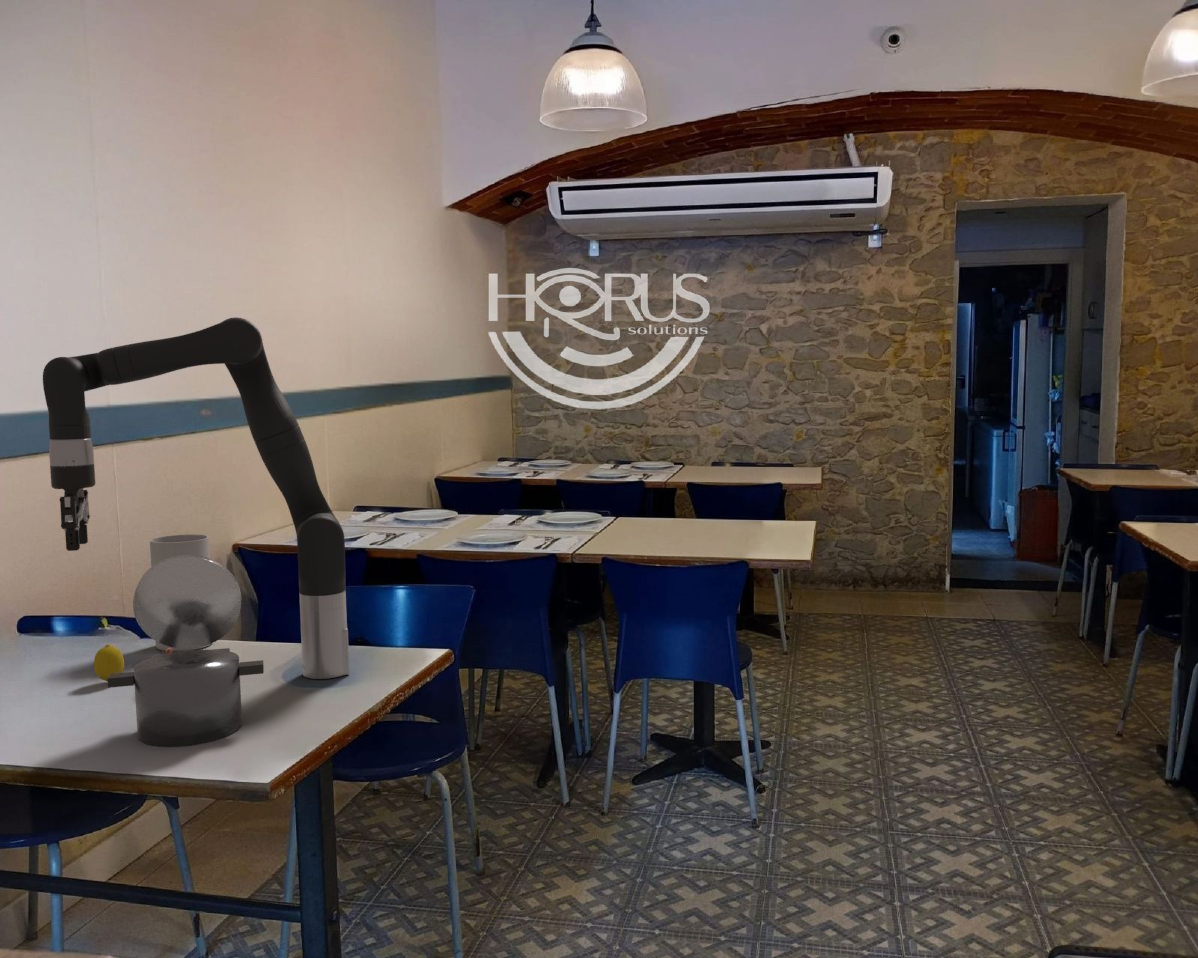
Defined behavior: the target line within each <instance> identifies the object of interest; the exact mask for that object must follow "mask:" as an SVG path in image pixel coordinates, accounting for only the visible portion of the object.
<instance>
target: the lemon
mask: <svg viewBox="0 0 1198 958" xmlns="http://www.w3.org/2000/svg"><path fill="white" fill-rule="evenodd" d="M93 667H94V672H95V674H96V676H97V677H98V678H99V679H101V680H103V681H106V682H107V683H108V677H109V675H110V674H113V673H124V669H125V659H124V655H123V653H122V651H121V650H120V648H118V647H117V646H114V645H111V644H110V643H108V644H107V643H106V645H104V646H103V647H101V648H99V650H97V652H96V654H95V656H94V659H93Z"/></svg>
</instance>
